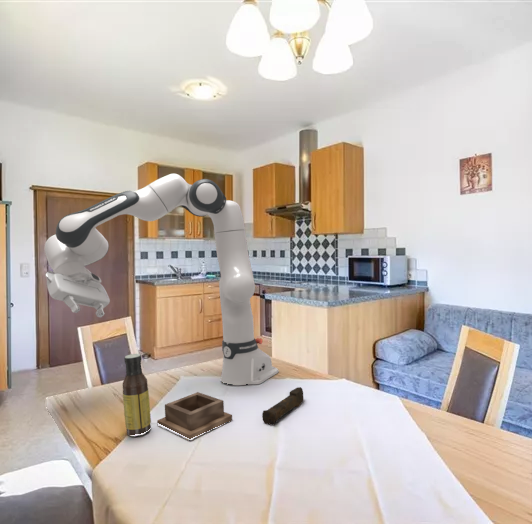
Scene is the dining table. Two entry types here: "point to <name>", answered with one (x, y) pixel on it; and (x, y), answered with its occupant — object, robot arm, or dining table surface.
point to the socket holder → (194, 415)
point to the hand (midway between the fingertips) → (89, 313)
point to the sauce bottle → (135, 397)
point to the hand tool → (283, 406)
